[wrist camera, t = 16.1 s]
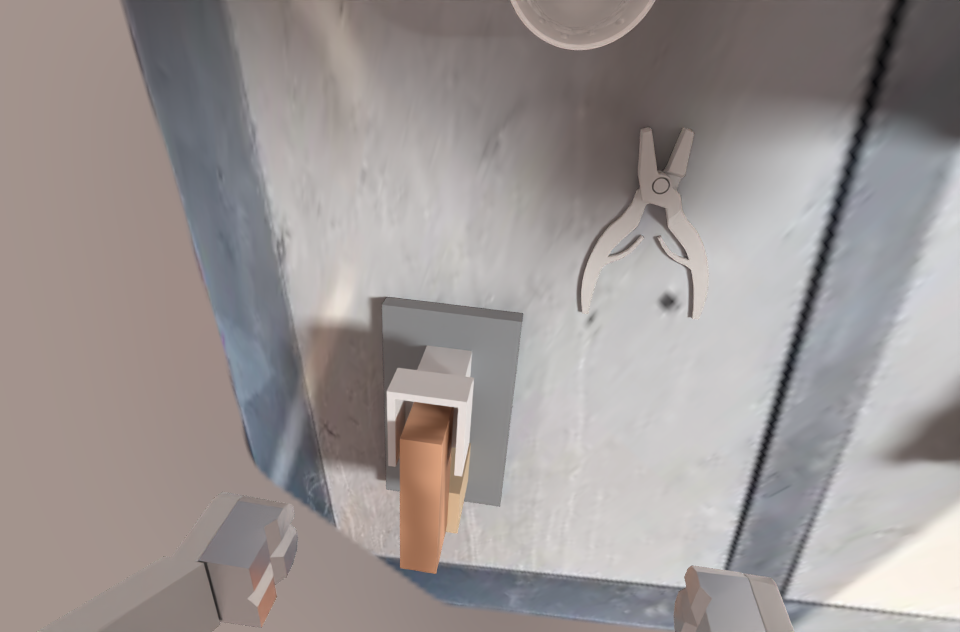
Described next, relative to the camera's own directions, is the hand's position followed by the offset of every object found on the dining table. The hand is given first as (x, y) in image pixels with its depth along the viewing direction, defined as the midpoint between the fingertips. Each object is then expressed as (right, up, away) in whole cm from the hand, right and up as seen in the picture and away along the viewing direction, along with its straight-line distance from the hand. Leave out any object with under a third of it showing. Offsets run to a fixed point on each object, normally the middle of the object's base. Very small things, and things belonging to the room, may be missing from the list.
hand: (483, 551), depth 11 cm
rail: (-4, -8, +35) cm, 36 cm away
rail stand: (-3, -4, +42) cm, 42 cm away
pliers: (+13, +12, +32) cm, 36 cm away
